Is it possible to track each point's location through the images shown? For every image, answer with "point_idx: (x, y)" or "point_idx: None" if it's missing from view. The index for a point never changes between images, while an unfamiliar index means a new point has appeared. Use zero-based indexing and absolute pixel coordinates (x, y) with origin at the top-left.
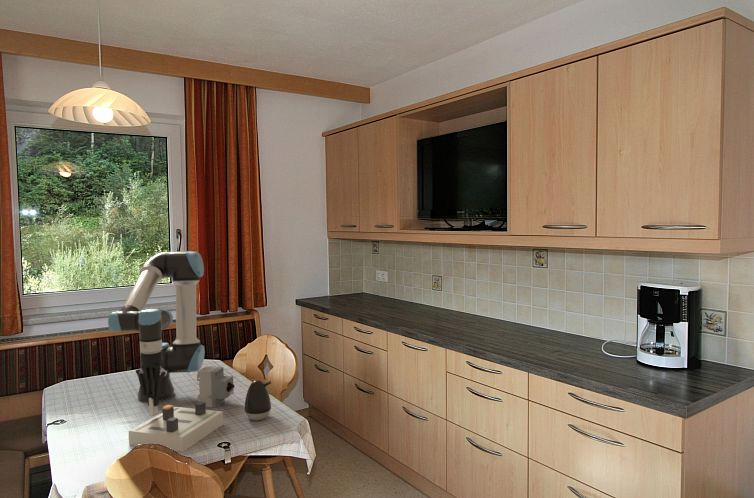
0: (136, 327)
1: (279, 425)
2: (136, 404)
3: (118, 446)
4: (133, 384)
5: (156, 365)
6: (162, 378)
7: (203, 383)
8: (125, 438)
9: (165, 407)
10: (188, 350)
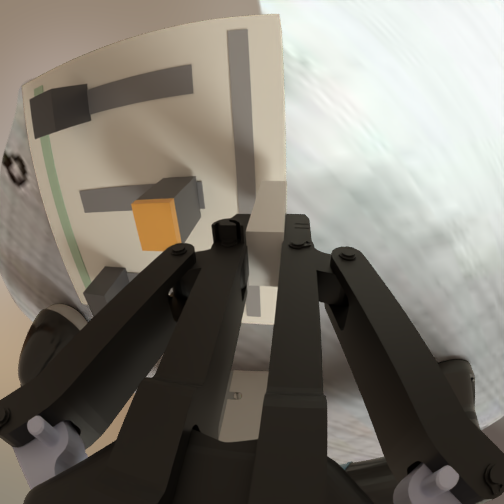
0: None
1: (23, 288)
2: (466, 343)
3: (315, 9)
4: (490, 399)
5: None
6: (47, 378)
7: (249, 434)
8: (353, 81)
9: (152, 208)
10: None
